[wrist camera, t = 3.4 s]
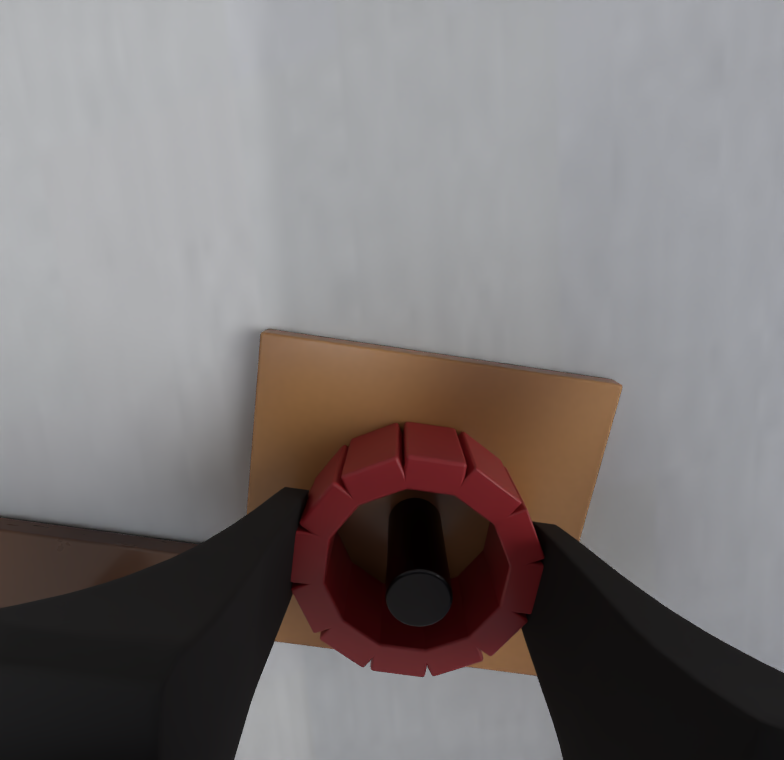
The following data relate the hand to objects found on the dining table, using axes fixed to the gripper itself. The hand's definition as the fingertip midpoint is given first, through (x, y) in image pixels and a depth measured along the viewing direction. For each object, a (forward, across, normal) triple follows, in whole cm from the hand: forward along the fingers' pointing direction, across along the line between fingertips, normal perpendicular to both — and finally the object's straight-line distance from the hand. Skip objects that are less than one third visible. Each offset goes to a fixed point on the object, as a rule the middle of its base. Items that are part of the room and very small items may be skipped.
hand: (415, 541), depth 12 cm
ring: (+1, 0, 0) cm, 1 cm away
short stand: (+2, 0, 0) cm, 2 cm away
